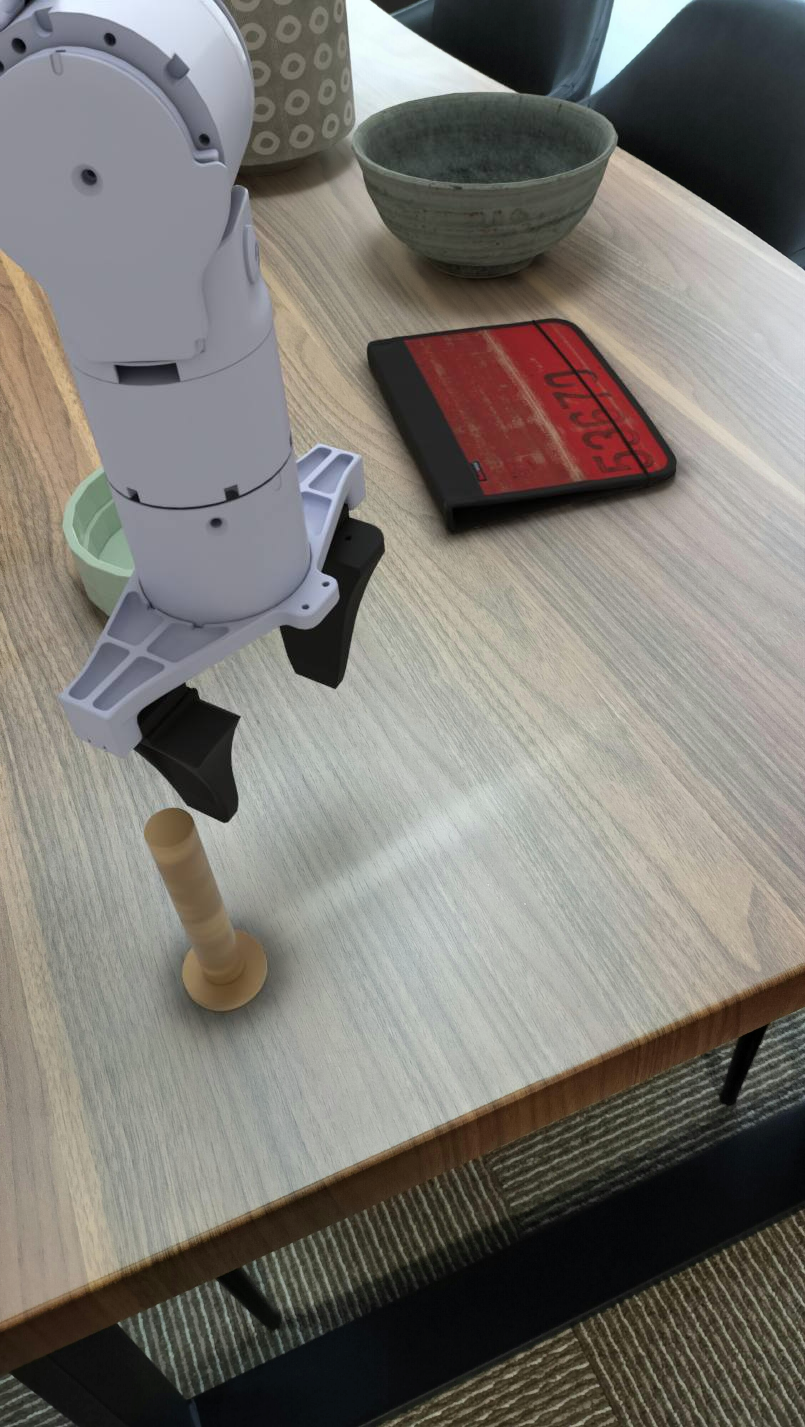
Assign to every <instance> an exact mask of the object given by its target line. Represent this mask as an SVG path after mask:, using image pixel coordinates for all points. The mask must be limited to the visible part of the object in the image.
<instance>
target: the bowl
mask: <svg viewBox="0 0 805 1427" xmlns="http://www.w3.org/2000/svg"><path fill="white" fill-rule="evenodd" d="M352 134H353V135H352V141H351V151H352V153H353V155H354V156H355V159H356V162H357V163H358V166H359V167H360V170H361V172H362V178H363V179H362V180H363V183H364V186H365V189H366V192H367V194H368V196H369V197H370V200H371V201H372V203H373V206H374V207H375V210H376V211H377V213H378V215H379V217H380V219H381V221H382V223H383V224H384V226H385V227H386V228H387V229H388V231H389V232H390V233H391V234H392V235H393V236H394V237H395V238H396V239H398V240H399V241H400V242H401V243H402V244H404V245H405V246H407V247H408V248H409V249H411V250H412V251H414V252H416V253H417V254H420V255H421V256H424V257H425V258H426V260H427V263H429V264H430V265H431V266H432V267H433V268H435V269H436V270H437V271H440V272H442V273H445V274H448V275H450V276H451V275H452V276H454V277H460V278H467V279H491V278H498V277H503V276H507V275H510V274H513V273H516V272H519V271H521V270H523V269H525V268H527V267H528V266H529V265H530V264H532V262H533V261H534V260H535V258H536V256H538V255H539V254H542V253H544V252H546V251H548V250H550V249H552V248H554V247H555V246H556V245H558V243H560V242H561V241H563V240H564V239H565V238H566V237H567V236H569V235H570V234H571V233H572V232H573V231H574V230H575V228H576V227H577V226H578V225H579V224H580V222H581V221H582V220H583V219H584V217H585V216H586V215H587V213H588V211H589V210H590V209H591V206H592V205H593V203H594V200H595V197H596V195H597V193H598V190H599V188H600V186H601V184H602V181H603V179H604V176H605V174H606V170H607V167H608V164H609V161H610V158H611V156H612V155H613V153H614V152H615V150H616V148H617V145H618V141H619V140H618V139H619V135H618V133H617V132H616V129H615V127H614V125H613V123H612V122H611V121H609V120H608V118H607V117H606V116H604V115H603V114H601V113H600V112H597V111H595V110H594V109H592V108H590V107H587V106H584V105H582V104H579V103H576V102H573V101H571V100H565V99H561V98H557V97H553V96H546V95H538V94H531V93H520V92H507V91H466V92H465V91H464V92H453V93H452V92H451V93H445V94H439V95H433V96H428V97H421V98H418V99H413V100H407V101H405V102H404V101H403V102H400V103H398V104H395V105H392V106H388V107H387V108H384V109H382V110H380V111H377V112H375V113H373V114H371V115H370V116H369V117H367V118H366V119H364V120H363V121H362V122H361V123H359V125H358V126H357V128H356V129H355V131H354V132H353V133H352Z"/></svg>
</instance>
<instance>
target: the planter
mask: <svg viewBox="0 0 805 1427" xmlns="http://www.w3.org/2000/svg"><path fill="white" fill-rule="evenodd" d="M221 1H222V2H223V4H224V5H225V6H226V8H227V9H228V11H229V12H230V14H231V16H232V17H233V19H234V21H235V23H236V24H237V26H238V28H239V30H240V33H241V35H242V37H243V40H244V42H245V45H246V48H247V51H248V54H249V58H250V62H251V66H252V72H253V79H254V112H253V123H252V128H251V133H250V138H249V141H248V144H247V147H246V150H245V153H244V156H243V159H242V161H241V164H240V167H239V170H238V173H237V175H241V176H251V177H254V176H270V175H275V174H280V173H283V172H287V171H290V170H293V169H295V168H297V167H299V166H301V165H302V164H305V163H307V162H308V161H310V160H312V159H313V158H315V157H316V156H318V155H319V154H320V153H321V152H323V151H324V150H326V149H328V148H329V147H332V146H334V145H336V144H338V143H339V142H341V141H343V140H344V139H345V138H346V137H348V136H349V134H350V133H351V132H352V130H354V127H355V125H356V108H355V96H354V94H355V93H354V84H353V83H354V82H353V72H352V60H351V48H350V36H349V35H350V34H349V22H348V11H347V0H221Z"/></svg>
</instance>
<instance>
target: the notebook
mask: <svg viewBox="0 0 805 1427" xmlns="http://www.w3.org/2000/svg"><path fill="white" fill-rule="evenodd" d="M366 358H367V364H368V367H369V369H370V371H371V373H372V374H373V377H374V379H375V381H376V384H377V385H378V388H379V390H380V392H381V394H382V397H383V399H384V401H385V403H386V405H387V407H388V409H389V411H390V413H391V415H392V418H393V420H394V422H395V424H396V426H397V429H398V430H399V432H400V434H401V437H402V438H403V441H404V444H405V445H406V447H407V449H408V451H409V452H410V455H411V456H412V459H413V461H414V463H415V465H416V467H417V468H418V469H417V470H418V471H419V473H420V476H421V477H422V479H423V481H424V484H425V486H426V488H427V489H428V492H429V494H430V496H431V498H432V500H433V502H434V504H435V506H436V508H437V510H438V512H439V514H440V516H441V518H442V520H443V522H444V525H445V528H446V530H447V532H448V533H449V534H457V533H460V532H464V531H468V530H473V529H477V528H480V527H484V526H488V525H492V524H496V523H498V522H499V523H500V522H503V521H506V520H510V519H514V518H515V519H516V518H519V517H523V516H528V515H532V514H536V513H540V512H544V511H548V510H552V509H556V508H560V507H564V506H569V505H573V504H578V503H581V502H587V501H589V500H594V499H599V498H602V497H607V496H611V495H615V494H619V493H624V492H628V491H631V490H632V491H633V490H638V489H641V488H648V487H650V486H653V485H658V484H661V483H665V482H667V481H670V480H671V479H672V478H673V477H674V476H675V475H676V473H677V464H678V459H677V457H676V455H675V453H674V452H673V450H672V449H671V447H670V445H669V444H668V443H667V441H666V440H665V438H664V437H663V435H662V434H661V433H660V430H659V429H658V428H657V426H656V424H655V423H654V421H653V420H652V419H651V418H650V416H649V415H648V413H647V412H646V410H645V409H644V408H643V406H642V405H641V404H640V403H639V401H638V400H637V398H636V397H635V395H633V393H632V392H631V390H630V389H629V388H628V386H627V385H626V384H625V382H624V381H623V380H622V379H621V377H620V376H619V375H618V373H616V371H615V369H614V368H613V367H612V366H611V365H610V363H609V362H608V360H607V359H606V358H605V357H604V355H603V353H602V352H600V351H599V349H598V348H597V347H596V345H595V344H594V343H593V341H591V340H590V338H589V337H588V335H587V334H586V333H585V332H584V331H583V330H582V328H580V327H579V325H577V324H575V323H574V322H573V321H570V320H567V319H563V318H558V317H548V318H541V319H532V320H525V321H518V322H510V323H509V322H508V323H499V324H490V325H479V326H472V327H465V328H464V327H463V328H457V329H456V328H455V329H448V330H440V331H432V332H425V333H417V334H409V335H399V336H398V335H397V336H393V337H389V338H381V339H376V340H372V341H369V342H368V343H367V346H366Z"/></svg>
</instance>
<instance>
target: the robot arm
mask: <svg viewBox="0 0 805 1427" xmlns="http://www.w3.org/2000/svg"><path fill="white" fill-rule="evenodd" d="M253 112H254V79H253V72H252V66H251V62H250V58H249V54H248V51H247V48H246V45H245V42H244V40H243V37H242V35H241V33H240V30H239V28H238V26H237V24H236V23H235V21H234V19H233V17H232V16H231V14H230V12H229V11H228V9H227V8H226V6H225V5H224V4H223V2H222V1H221V0H0V250H1V252H3V253H4V254H5V255H6V256H7V257H8V258H9V259H10V260H11V261H12V262H13V263H14V264H16V266H18V267H19V268H20V269H21V270H23V271H24V272H26V274H28V275H29V276H30V277H31V278H33V279H34V280H35V282H37V284H38V285H39V286H40V287H41V288H42V289H43V291H44V292H45V293H46V295H47V297H48V300H49V305H50V306H51V310H52V313H53V316H54V319H55V322H56V325H57V328H58V336H59V338H60V340H61V343H62V346H63V349H64V353H65V356H66V359H67V363H68V365H69V368H70V371H71V374H72V377H73V380H74V383H75V386H76V390H77V392H78V395H79V398H80V399H79V400H80V401H81V405H82V408H83V411H84V414H85V417H86V420H87V423H88V426H89V429H90V432H91V435H92V439H93V441H94V445H95V447H96V450H97V453H98V456H99V459H100V462H101V466H103V469H104V472H105V475H106V478H107V481H108V485H109V488H110V491H111V494H112V497H113V500H114V503H115V506H116V509H117V512H118V515H119V518H120V521H121V524H122V527H123V530H124V533H125V537H126V540H127V543H128V546H129V549H130V552H131V555H132V558H133V561H134V564H135V569H134V571H133V573H132V575H131V577H130V579H129V581H128V583H127V585H126V587H125V589H124V591H123V593H122V595H121V597H120V599H119V601H118V603H117V604H116V606H115V608H114V610H113V612H112V614H111V616H109V619H108V620H107V622H106V624H105V626H104V628H103V629H102V632H101V634H100V636H99V637H98V640H97V642H96V644H95V646H94V648H93V650H92V652H91V654H90V656H89V657H88V658H87V660H86V662H85V664H84V665H83V666H82V668H81V670H80V671H79V672H78V674H77V675H76V676H75V678H74V679H73V680H72V681H71V682H70V683H69V684H68V685H67V687H66V688H65V689H64V690H63V691H62V692H61V693H60V694H59V695H58V696H57V700H58V701H59V703H60V706H61V708H62V710H63V712H64V714H65V716H66V719H67V721H68V723H69V725H70V727H71V730H72V732H73V734H74V736H75V738H77V739H78V740H81V741H83V742H85V743H87V744H90V746H92V747H95V748H97V749H99V750H101V751H102V752H103V751H104V752H105V753H109V754H111V755H113V756H114V757H117V758H119V759H125V758H126V757H127V756H128V755H129V754H130V753H131V752H132V751H135V752H136V753H137V754H138V755H140V756H141V757H142V758H143V759H144V760H146V761H147V763H149V764H150V765H151V766H152V767H153V768H154V769H156V770H157V771H158V772H159V773H160V775H161V776H162V777H163V778H164V779H165V780H167V783H168V784H170V786H171V787H172V788H173V789H174V790H175V792H176V793H177V794H178V796H179V797H180V798H181V800H182V801H183V803H184V804H185V805H186V806H187V807H188V808H190V809H193V810H195V811H197V812H199V813H201V814H203V815H206V816H208V817H209V818H212V819H214V820H216V821H218V822H220V823H223V824H228V823H229V822H230V821H231V820H232V818H233V817H234V816H235V815H236V814H237V812H238V809H239V801H240V800H239V799H240V798H239V793H238V788H237V787H238V786H237V784H236V779H235V775H234V771H233V770H234V769H233V765H232V764H233V761H232V758H233V757H232V755H233V754H232V751H233V741H234V737H235V732H236V728H237V727H238V724H239V722H240V720H241V718H242V715H239V714H237V713H234V712H232V711H230V710H227V709H225V708H222V707H221V706H218V705H216V704H214V703H211V702H209V701H206V700H203V699H201V697H200V694H199V691H198V689H197V687H194V686H193V687H190V686H187V682H188V681H189V680H191V679H193V678H194V677H196V676H198V675H200V674H201V673H203V672H204V671H207V670H208V669H210V668H212V667H213V666H215V665H216V664H218V663H220V662H222V661H223V660H225V659H227V658H229V657H231V655H233V654H235V653H237V652H238V651H240V650H242V649H244V648H245V647H247V646H248V645H251V644H252V643H253V642H256V641H257V640H259V639H260V638H262V637H264V636H265V635H267V634H269V633H270V632H272V631H274V630H275V629H277V628H279V631H280V635H281V639H282V642H283V646H284V650H285V653H286V657H287V658H288V661H289V664H290V665H291V667H292V669H293V671H294V674H296V675H298V676H301V677H302V678H305V679H308V680H310V681H313V682H315V683H318V684H321V685H323V686H326V687H328V688H330V689H333V690H336V689H337V688H338V687H339V686H340V684H341V683H342V682H343V681H344V678H345V674H346V672H347V666H348V661H349V655H350V651H351V644H352V640H353V635H354V630H355V624H356V620H357V616H358V613H359V609H360V605H361V603H362V599H363V597H364V594H365V592H366V589H367V586H368V584H369V582H370V580H371V578H372V576H373V574H374V571H375V570H376V568H377V566H378V564H379V563H380V561H381V559H382V557H383V556H384V554H385V553H386V546H385V545H386V544H385V535H384V532H383V530H382V529H381V528H379V527H378V526H377V525H374V524H372V523H370V522H367V521H363V520H361V519H357V518H354V517H351V516H350V511H354V510H355V509H357V508H358V507H359V506H360V504H362V502H363V501H364V500H366V498H367V490H366V480H365V469H364V461H363V455H360V454H357V453H354V452H351V451H347V450H344V449H340V448H337V447H333V446H330V445H327V444H323V443H320V442H318V443H316V444H315V445H314V446H313V447H312V448H311V449H309V450H308V451H307V452H306V453H305V454H304V455H302V456H301V457H299V458H298V459H296V452H295V447H294V440H293V433H292V427H291V421H290V414H289V409H288V408H289V407H288V402H287V395H286V390H285V383H284V376H283V370H282V364H281V358H280V350H279V345H278V339H277V334H276V327H275V326H276V325H275V320H274V314H273V307H272V299H271V297H270V293H269V289H268V286H267V284H266V282H265V280H264V277H263V274H262V268H261V253H260V245H259V240H258V238H257V235H256V231H255V226H254V220H253V213H252V207H251V201H250V195H249V191H248V189H247V188H246V187H245V186H243V185H239V184H235V181H236V179H237V176H238V174H237V173H238V170H239V167H240V164H241V161H242V159H243V156H244V153H245V150H246V147H247V144H248V141H249V138H250V133H251V128H252V123H253ZM234 184H235V185H234Z"/></svg>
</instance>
